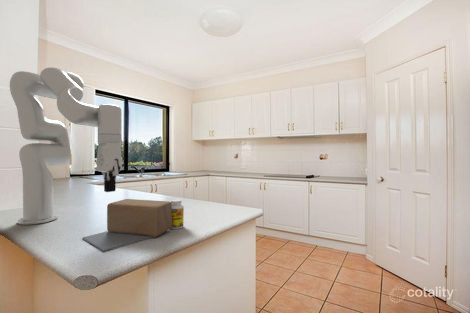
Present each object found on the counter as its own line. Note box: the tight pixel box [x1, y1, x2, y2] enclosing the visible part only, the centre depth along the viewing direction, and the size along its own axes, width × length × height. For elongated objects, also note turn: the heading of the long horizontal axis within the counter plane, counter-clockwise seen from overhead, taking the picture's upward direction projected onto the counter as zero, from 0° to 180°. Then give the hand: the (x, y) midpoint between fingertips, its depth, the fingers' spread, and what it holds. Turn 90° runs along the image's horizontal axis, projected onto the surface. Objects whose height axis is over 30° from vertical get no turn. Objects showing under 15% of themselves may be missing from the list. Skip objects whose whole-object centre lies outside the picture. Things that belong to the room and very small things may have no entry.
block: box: [106, 198, 172, 237], centre depth 84 cm, size 10×10×20 cm
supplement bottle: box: [170, 198, 185, 230], centre depth 89 cm, size 6×6×10 cm
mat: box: [82, 230, 156, 253], centre depth 79 cm, size 16×18×1 cm
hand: (109, 191), depth 84 cm, fingers closed
